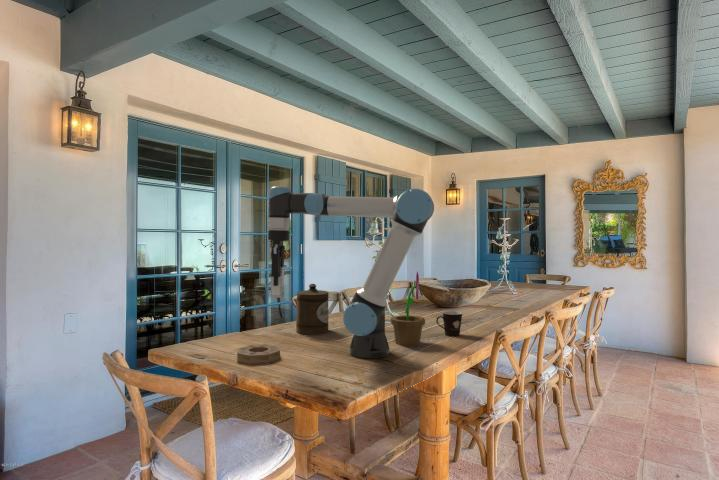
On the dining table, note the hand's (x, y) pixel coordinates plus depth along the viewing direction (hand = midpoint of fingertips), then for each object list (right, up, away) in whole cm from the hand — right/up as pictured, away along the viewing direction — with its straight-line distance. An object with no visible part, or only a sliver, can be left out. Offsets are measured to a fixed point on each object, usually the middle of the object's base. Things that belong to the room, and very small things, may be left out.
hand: (277, 293), depth 165 cm
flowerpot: (+50, -23, +23) cm, 60 cm away
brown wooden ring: (-7, -23, 0) cm, 24 cm away
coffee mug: (+70, -23, +38) cm, 83 cm away
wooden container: (+8, -23, +45) cm, 51 cm away
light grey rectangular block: (0, -1, 0) cm, 1 cm away
